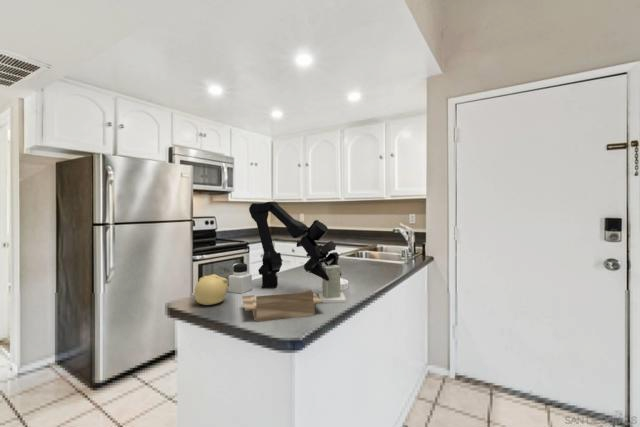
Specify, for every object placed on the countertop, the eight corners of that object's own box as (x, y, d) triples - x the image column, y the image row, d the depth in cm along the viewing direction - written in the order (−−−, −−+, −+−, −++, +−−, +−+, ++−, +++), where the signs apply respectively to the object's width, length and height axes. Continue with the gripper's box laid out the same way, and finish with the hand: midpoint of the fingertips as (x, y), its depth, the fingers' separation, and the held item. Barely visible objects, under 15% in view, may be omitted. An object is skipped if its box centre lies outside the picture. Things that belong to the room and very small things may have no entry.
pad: (320, 302, 121) (320, 300, 121) (318, 295, 131) (318, 292, 131) (346, 302, 122) (345, 299, 122) (342, 294, 132) (342, 292, 132)
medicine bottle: (252, 289, 140) (251, 262, 140) (241, 294, 134) (241, 265, 134) (239, 288, 143) (238, 261, 143) (228, 292, 137) (228, 264, 137)
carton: (242, 306, 117) (242, 285, 117) (311, 300, 125) (311, 280, 124) (245, 322, 102) (245, 297, 101) (323, 313, 109) (323, 290, 109)
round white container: (317, 289, 142) (316, 281, 142) (330, 283, 152) (330, 276, 152) (340, 293, 136) (340, 284, 135) (352, 286, 146) (352, 278, 146)
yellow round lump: (231, 298, 127) (231, 272, 127) (217, 308, 116) (217, 279, 115) (205, 297, 129) (204, 271, 129) (188, 307, 117) (188, 278, 117)
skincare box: (336, 293, 130) (336, 264, 129) (340, 296, 126) (340, 266, 125) (322, 295, 128) (321, 265, 127) (325, 298, 123) (325, 267, 123)
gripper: (309, 237, 120) (334, 269, 115) (335, 233, 136) (358, 261, 130) (293, 255, 125) (316, 287, 119) (320, 250, 140) (341, 278, 135)
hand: (334, 277), depth 126 cm, fingers open, 9 cm apart
